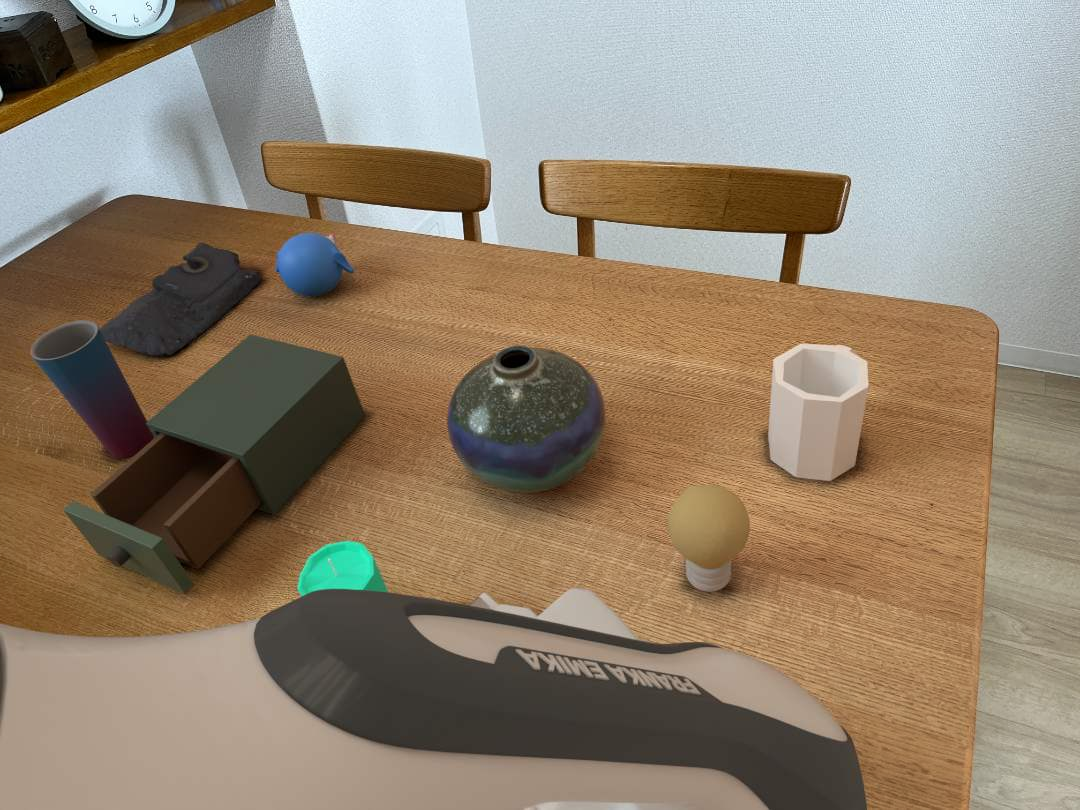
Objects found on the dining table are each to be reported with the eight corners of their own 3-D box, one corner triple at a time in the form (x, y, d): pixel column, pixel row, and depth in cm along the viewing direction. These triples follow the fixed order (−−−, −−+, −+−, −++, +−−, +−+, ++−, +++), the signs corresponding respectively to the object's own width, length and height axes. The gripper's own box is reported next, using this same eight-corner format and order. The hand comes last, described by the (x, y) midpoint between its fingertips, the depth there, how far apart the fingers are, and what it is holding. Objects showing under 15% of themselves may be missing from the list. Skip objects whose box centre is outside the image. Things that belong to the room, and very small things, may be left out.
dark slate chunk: (86, 348, 110) (68, 320, 107) (194, 262, 125) (180, 235, 122) (169, 364, 104) (153, 335, 101) (272, 272, 119) (260, 244, 116)
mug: (839, 493, 74) (852, 413, 67) (751, 461, 78) (754, 384, 72) (883, 414, 80) (899, 335, 74) (800, 388, 85) (807, 312, 78)
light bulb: (739, 616, 66) (743, 538, 59) (662, 599, 68) (657, 522, 61) (752, 555, 70) (757, 476, 63) (679, 541, 72) (677, 463, 66)
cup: (111, 428, 96) (43, 326, 86) (167, 418, 96) (106, 315, 86) (93, 468, 91) (19, 365, 81) (153, 458, 91) (86, 353, 81)
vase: (434, 500, 80) (401, 400, 71) (496, 400, 90) (474, 301, 81) (580, 532, 74) (564, 428, 66) (629, 421, 85) (620, 318, 76)
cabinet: (274, 515, 81) (242, 455, 76) (181, 481, 87) (145, 423, 82) (365, 416, 91) (343, 356, 86) (276, 391, 97) (250, 334, 91)
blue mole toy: (379, 261, 117) (363, 208, 112) (347, 308, 109) (328, 254, 103) (306, 260, 120) (286, 209, 115) (269, 307, 112) (246, 254, 106)
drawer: (175, 604, 73) (141, 558, 69) (88, 564, 79) (51, 518, 74) (288, 485, 83) (264, 437, 79) (203, 456, 88) (177, 410, 84)
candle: (372, 606, 71) (330, 517, 64) (422, 636, 68) (384, 547, 61) (323, 658, 68) (273, 572, 60) (373, 692, 65) (327, 606, 57)
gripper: (691, 647, 46) (531, 524, 55) (404, 937, 37) (266, 736, 46) (693, 702, 50) (544, 580, 59) (435, 975, 41) (303, 784, 50)
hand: (420, 650), depth 52 cm, fingers open, 8 cm apart
